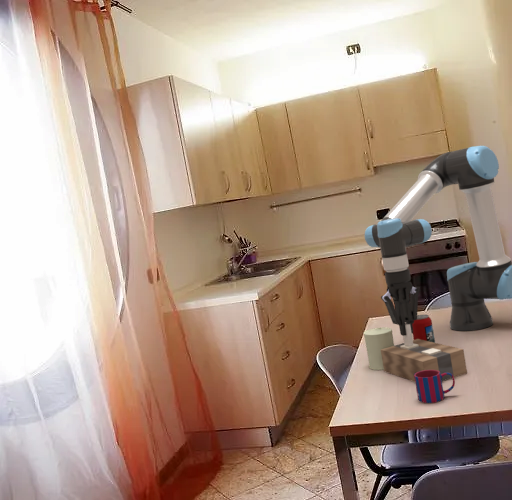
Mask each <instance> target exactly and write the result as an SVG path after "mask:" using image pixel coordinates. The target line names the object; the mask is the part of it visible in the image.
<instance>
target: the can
mask: <svg viewBox="0 0 512 500" xmlns="http://www.w3.org/2000/svg"><path fill="white" fill-rule="evenodd" d="M363 336H364V337H363V338H364V341H365V347H366V348H365V349H366V353H367V359H368V360H367V361H368V367H369V369H370V370H374V371H384V367H383V361H382V355H381V349H385V348H388V347H391V346H395V342H394V336H393V329H392V328H391V327H386V326H385V327H375V328H370V329H367V330H365V331H364V332H363Z"/></svg>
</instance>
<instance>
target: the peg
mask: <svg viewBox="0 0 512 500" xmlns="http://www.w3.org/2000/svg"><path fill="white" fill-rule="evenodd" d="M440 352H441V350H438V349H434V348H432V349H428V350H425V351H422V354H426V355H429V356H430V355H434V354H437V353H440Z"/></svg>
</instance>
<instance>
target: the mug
mask: <svg viewBox="0 0 512 500" xmlns="http://www.w3.org/2000/svg"><path fill="white" fill-rule="evenodd" d="M445 375H450V376H451V377H452V378H451V380H452V385H451V386H450V387H449V388H447V389H446V390H445V389H444V387H443V381H442V377H443V376H445ZM414 378H415V382H414V384H415V390H416V395H417V401H419V403H422V404H423V403H424V404H433V403H439V402H441V401H442V399H443V400H444V399H445V394H447V393H449V392H451V391H452V390H453V389H454V387H455V386H456V385H455V384H456V379H455V377H454V376H453V375H452V374H451V373H443V374H440V371H437V370H423V371H419V372H417V373H415V374H414ZM438 401H439V402H438Z"/></svg>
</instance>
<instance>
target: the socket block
mask: <svg viewBox="0 0 512 500" xmlns="http://www.w3.org/2000/svg"><path fill="white" fill-rule="evenodd" d="M413 344H418V345H419V347H415V348H412V349H409V350H407V349H403V348H400V346H402V345H404V342H403V343H399V344H394V346H391V347H388V348H385V349H381V355H382V361H383V367H384V370H383V371H384V373H388V374H390V375H391V374H392V375H393V376H397V377H400V378H403V379H405V380H408V381H411V382H414V383H415V378H414V374H415V373H417V372H419V371H423V370H437V371H440V374H443V373H451V374H452V375H453V376H454V378H455V377H456V378H457V377H458V376H459V377H460V376H463V375H465V374H467V373H468V370H467V365H466V364H467V363H466V358H465V357H466V356H465V352H464V349H463V348H461V347H460V348H459V347H455V346H450V345H447V344H443V343H437V342H435V343H434V342H429V341H425V340H421V339H416V340H414V339H413ZM432 348H434V349H438V350H441V352H440V353H437V354H434V355H430V356H429V355H426V354H422V351H425V350H428V349H432ZM450 379H452V377H451V376H450V375H445V376H443V377H442V382H444V381H446V380H450Z"/></svg>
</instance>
